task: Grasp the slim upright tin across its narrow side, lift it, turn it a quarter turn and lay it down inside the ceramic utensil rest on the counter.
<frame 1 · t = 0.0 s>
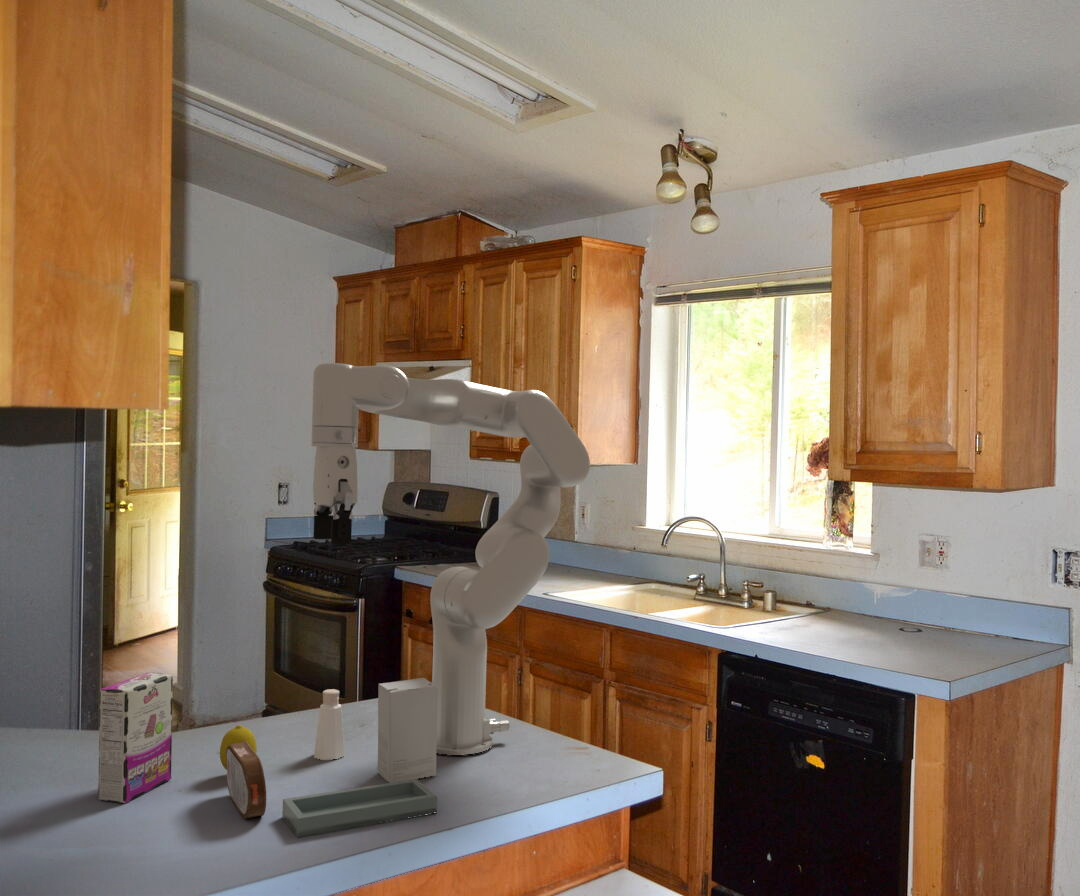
hand: (331, 541, 156), 37 cm above the table, tool pointing down, fingers open, 9 cm apart
candy bar box: (134, 791, 142), on the table
utensil rest: (360, 815, 134), on the table
lemon: (237, 777, 149), on the table
pepper shaker: (329, 756, 160), on the table
tin: (243, 809, 136), on the table
skincare box: (406, 777, 151), on the table
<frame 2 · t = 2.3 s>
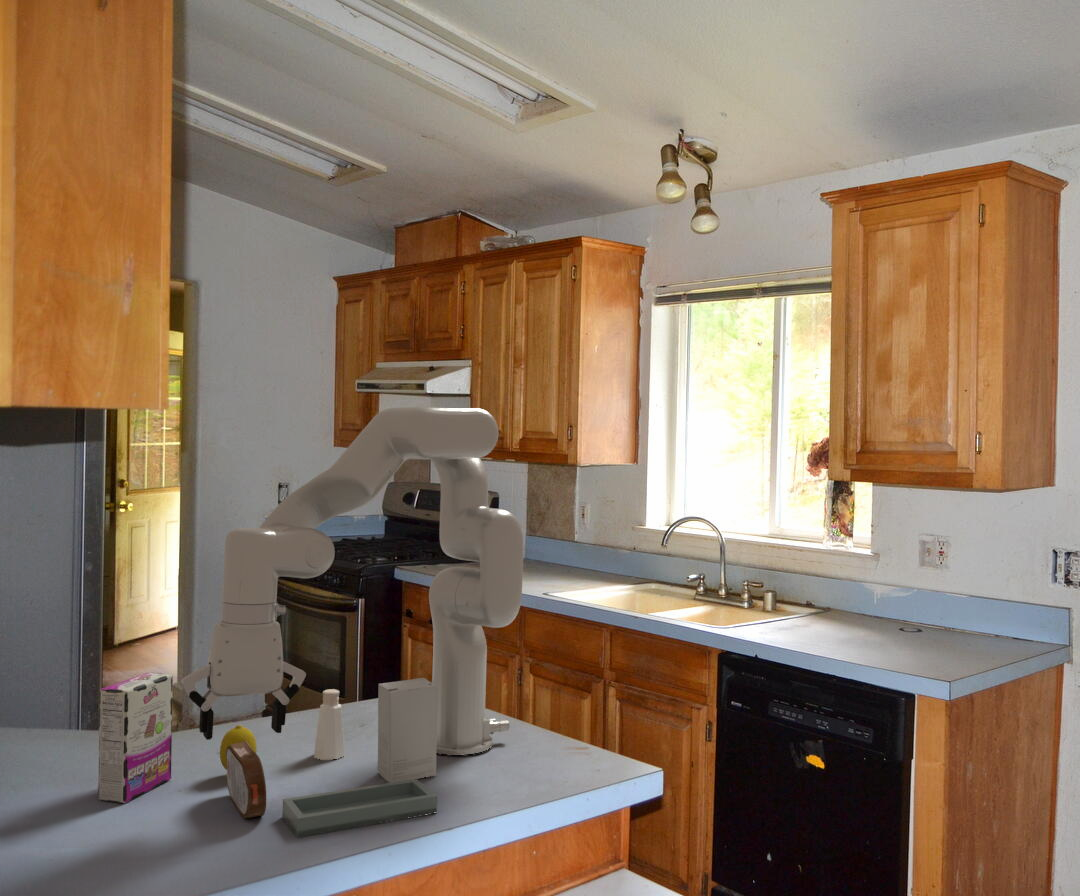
hand: (242, 733, 135), 11 cm above the table, tool pointing down, fingers open, 9 cm apart
nothing on the table moved.
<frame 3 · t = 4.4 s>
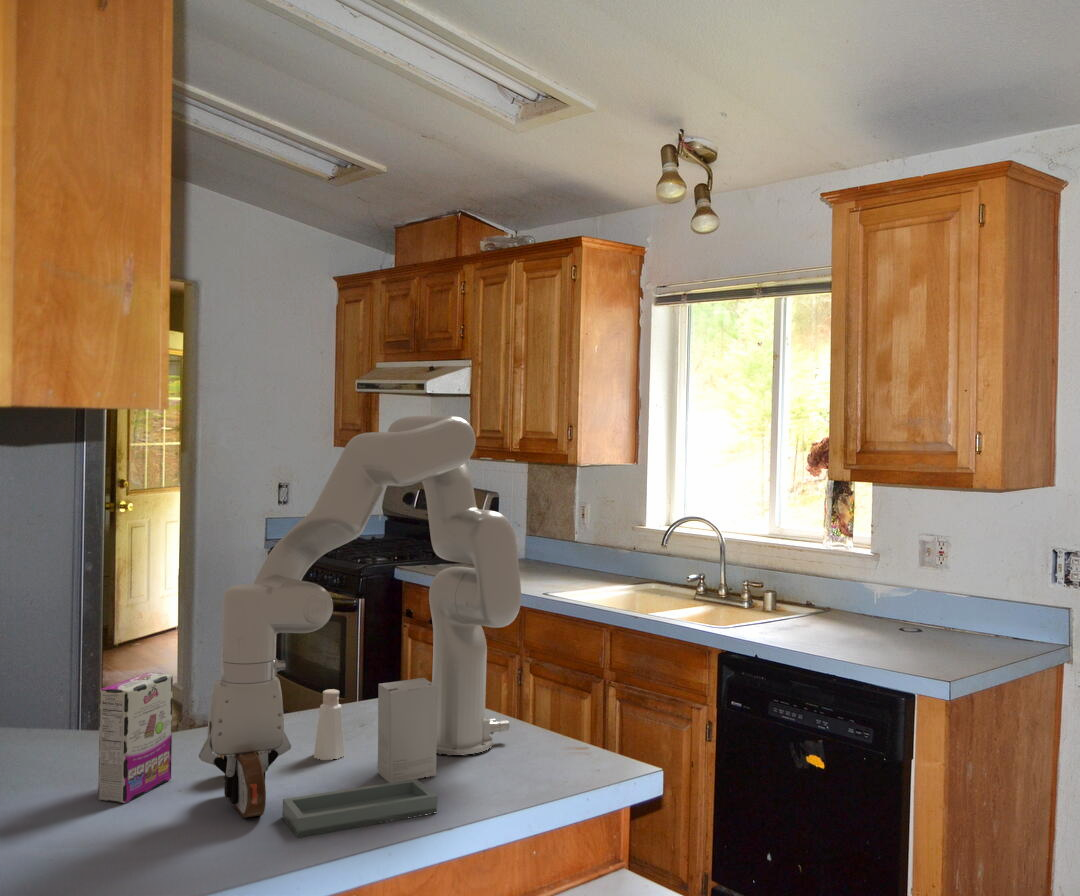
hand: (244, 798, 136), 1 cm above the table, tool pointing down, fingers closed on tin, 2 cm apart
tin: (243, 808, 136), on the table, touching gripper
everything else where it was.
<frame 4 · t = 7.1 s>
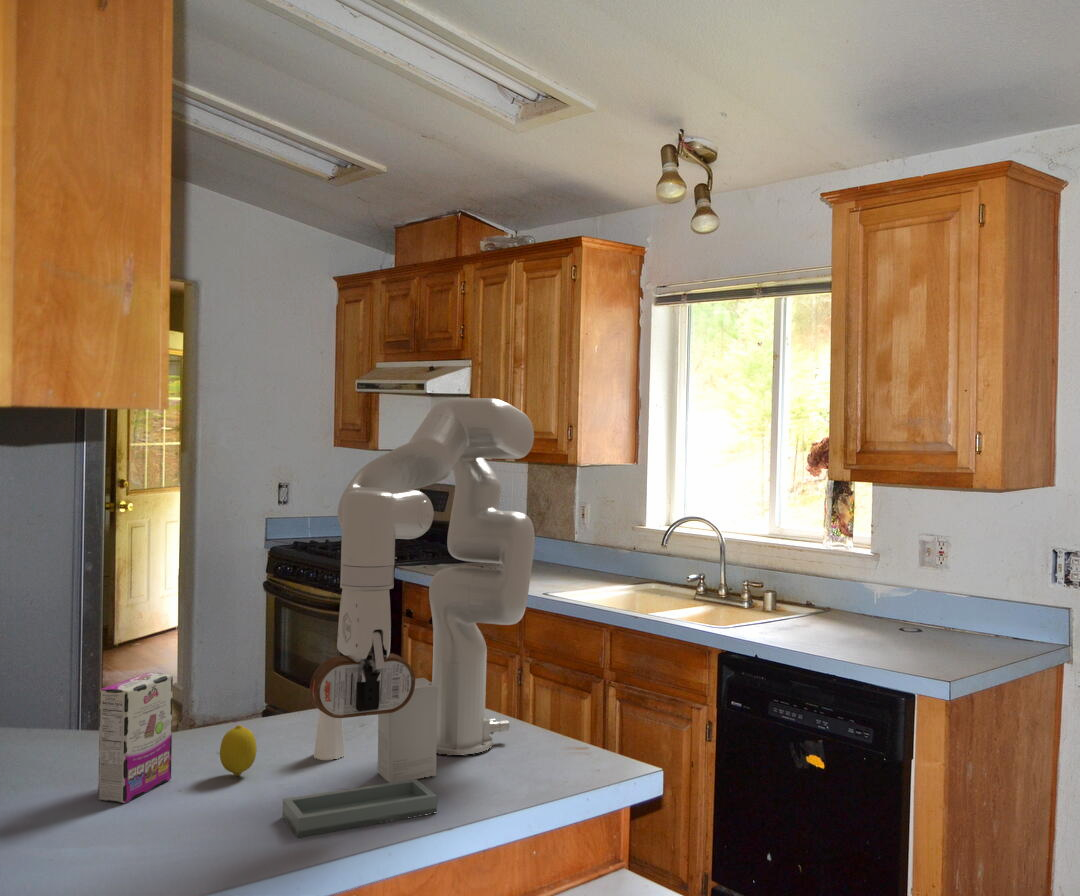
hand: (363, 705, 134), 15 cm above the table, tool pointing down, fingers closed on tin, 2 cm apart
tin: (363, 716, 134), point 14 cm above the table, touching gripper
everything else where it was.
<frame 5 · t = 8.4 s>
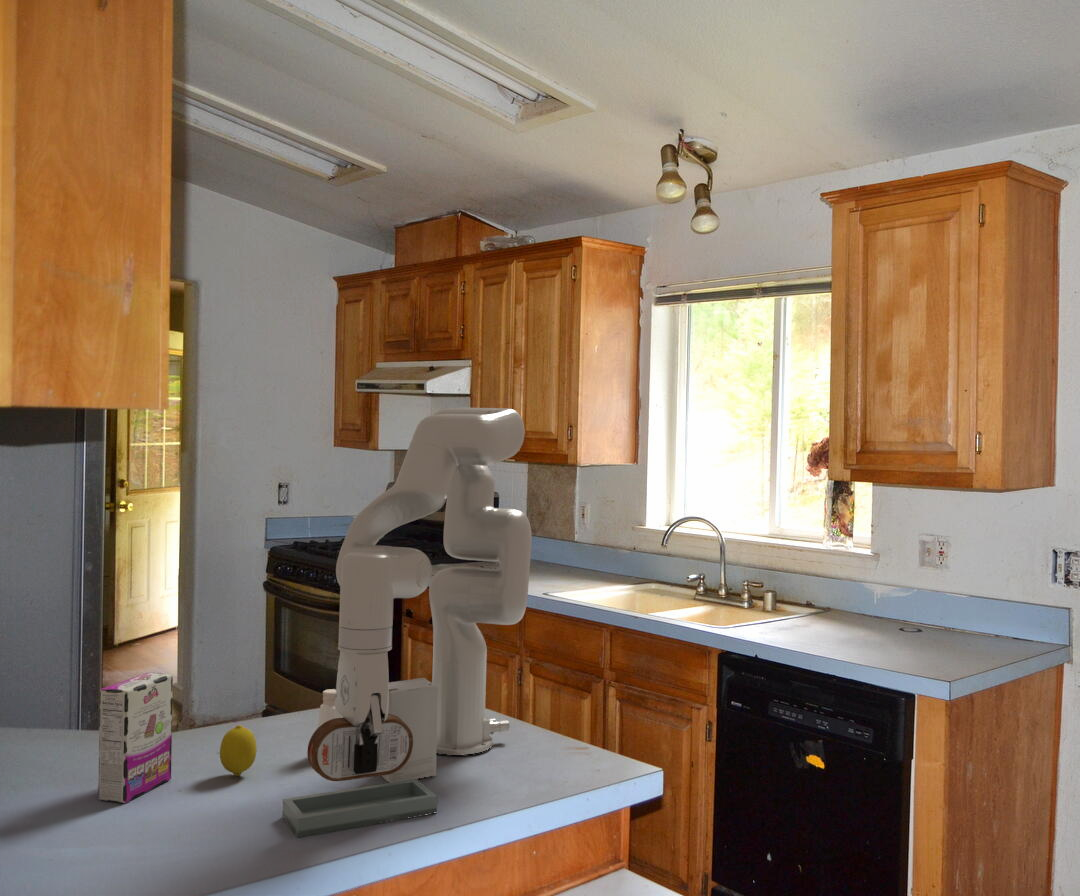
hand: (361, 767, 134), 7 cm above the table, tool pointing down, fingers closed on tin, 2 cm apart
tin: (361, 778, 134), point 5 cm above the table, touching gripper
everything else where it was.
when the fingers open (3 cm above the table, at t = 9.8 s): tin stays where it is, resting on utensil rest.
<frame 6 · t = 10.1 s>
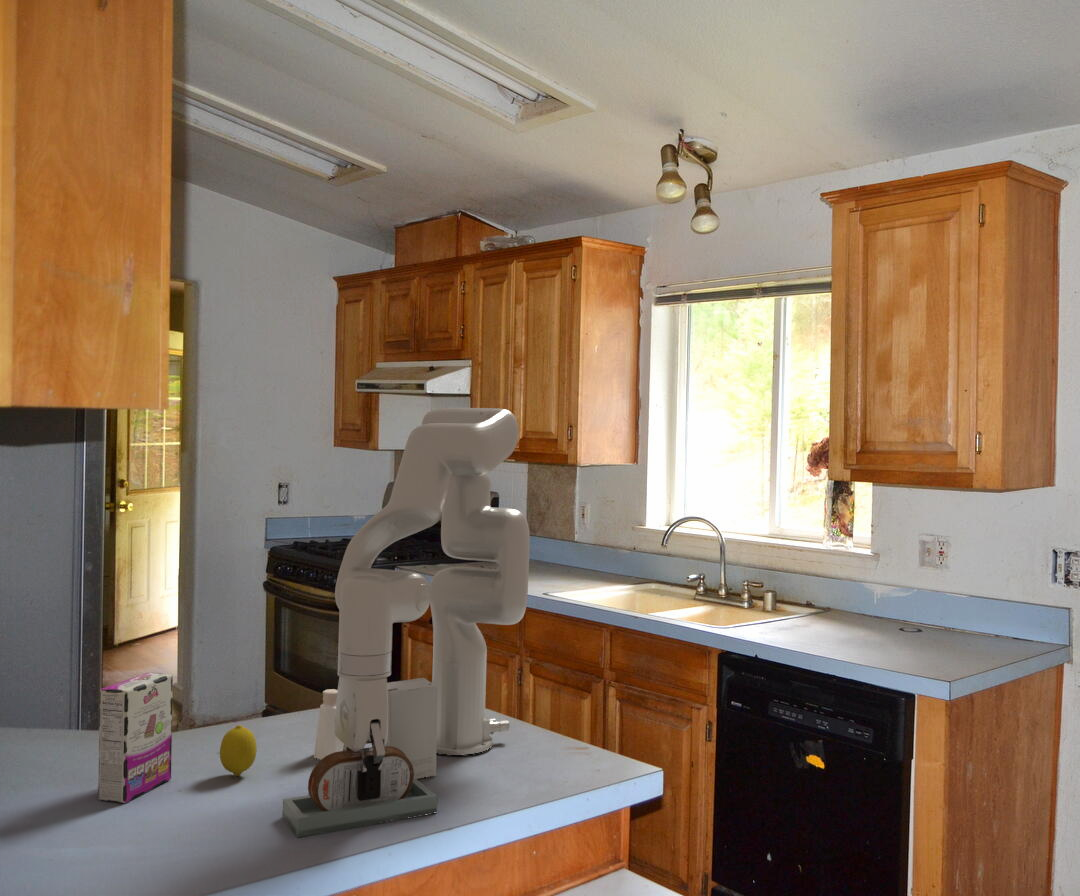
hand: (361, 790, 134), 4 cm above the table, tool pointing down, fingers open, 5 cm apart
tin: (361, 811, 134), point 1 cm above the table, touching utensil rest
everything else where it was.
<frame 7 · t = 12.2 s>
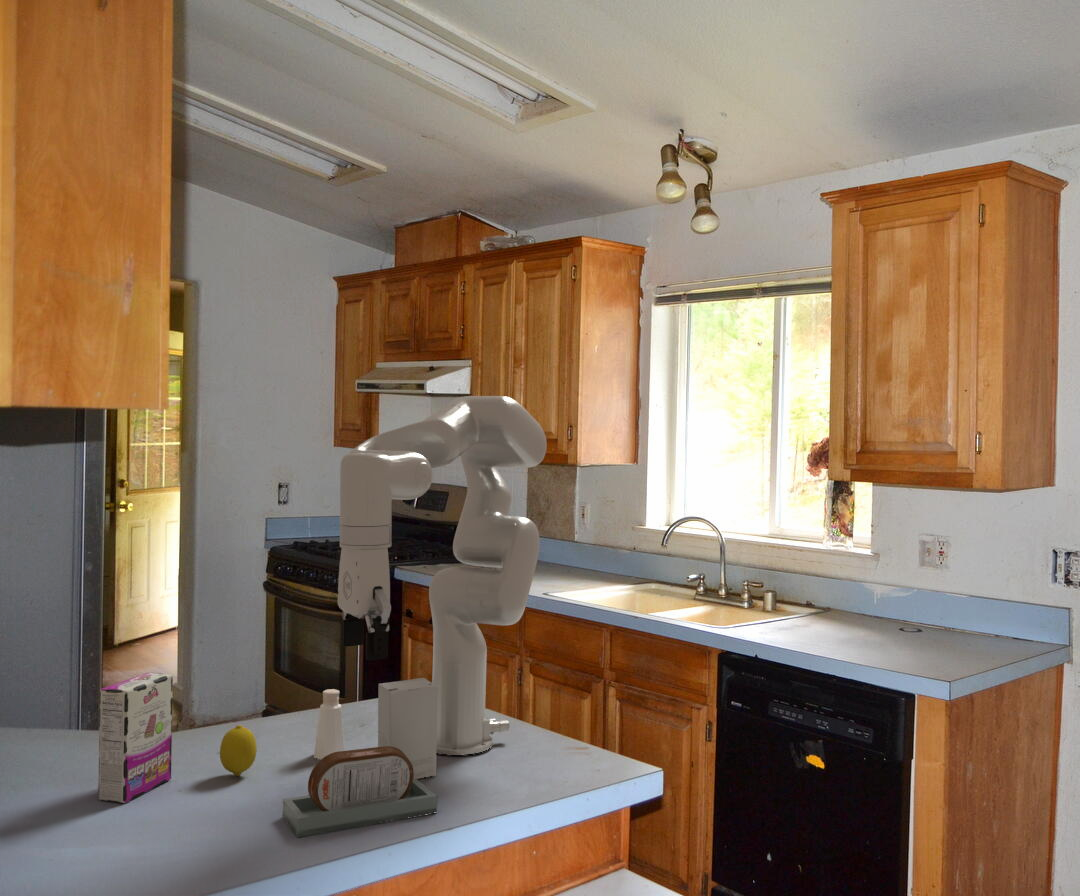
hand: (364, 652, 140), 22 cm above the table, tool pointing down, fingers open, 9 cm apart
nothing on the table moved.
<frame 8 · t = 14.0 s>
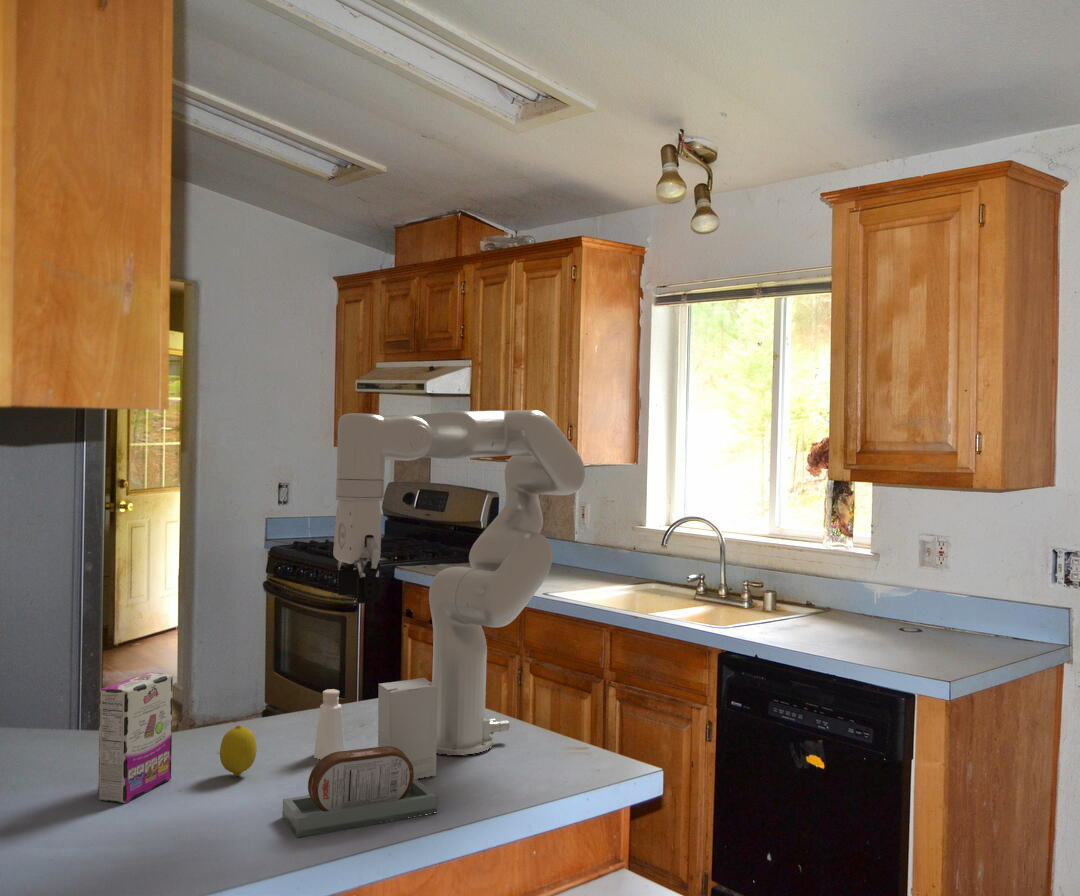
hand: (356, 598, 150), 28 cm above the table, tool pointing down, fingers open, 9 cm apart
nothing on the table moved.
at the end: tin 0.3 cm off-centre on the utensil rest, point 0.6 cm above the utensil rest's base; tin tilted 0°; the gripper is holding nothing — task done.
